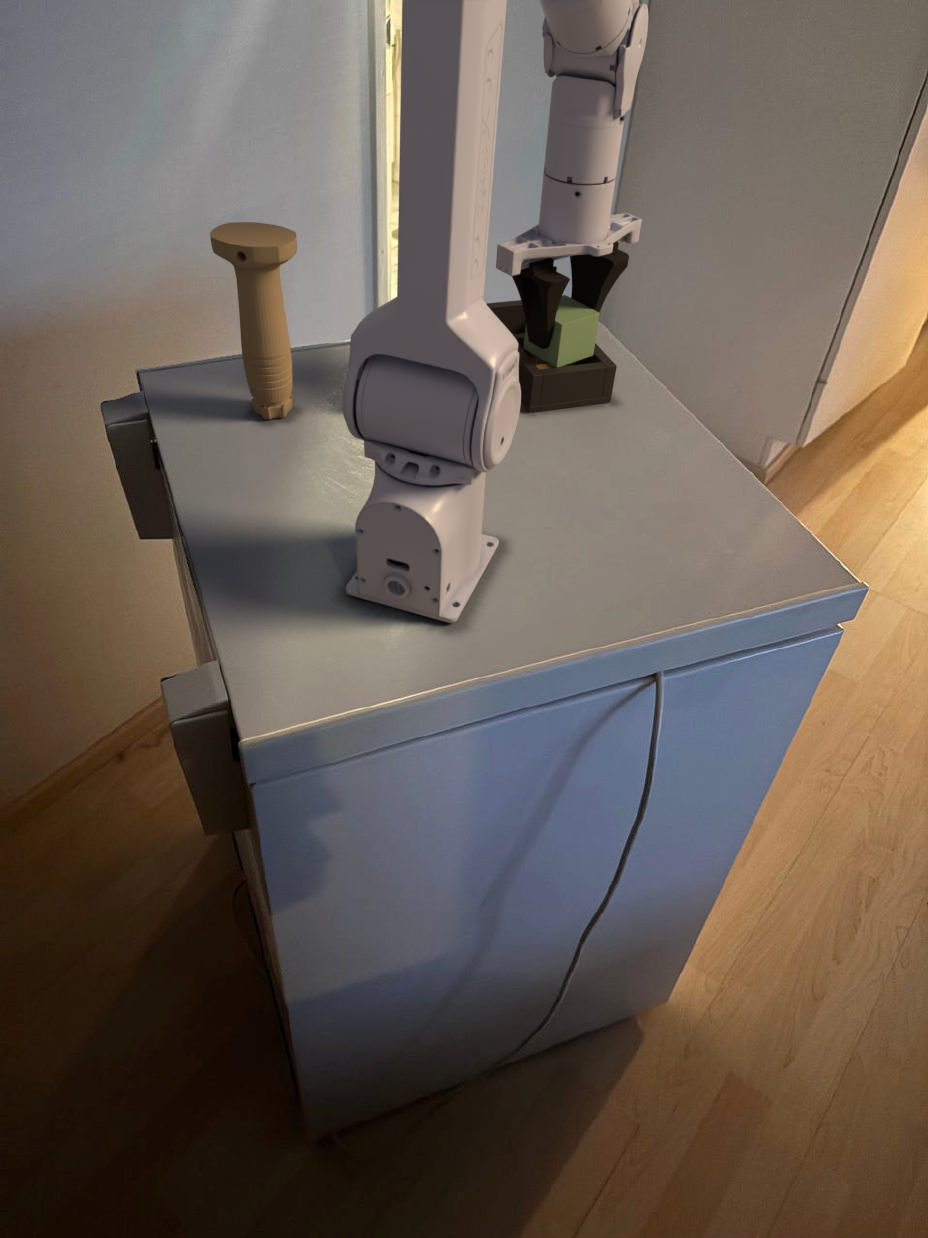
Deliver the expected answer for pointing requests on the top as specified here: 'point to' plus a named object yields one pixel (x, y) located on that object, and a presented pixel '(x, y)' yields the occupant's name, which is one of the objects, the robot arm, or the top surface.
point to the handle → (261, 308)
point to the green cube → (569, 334)
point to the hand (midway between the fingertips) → (559, 337)
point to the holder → (556, 370)
